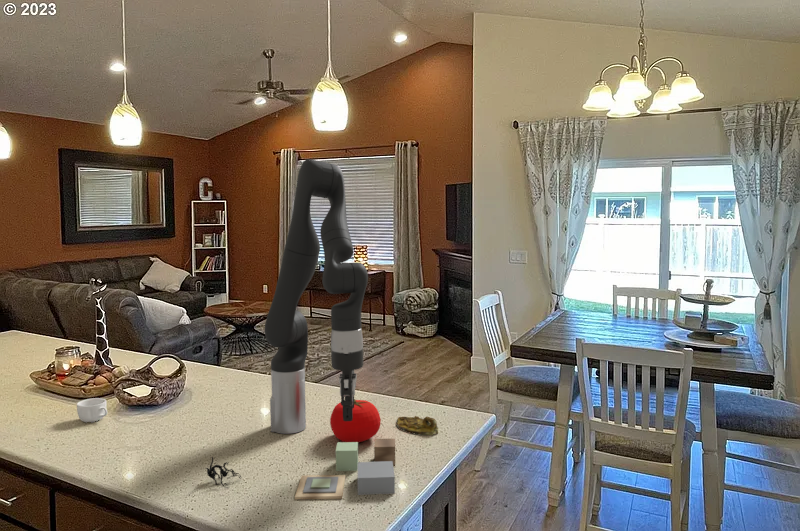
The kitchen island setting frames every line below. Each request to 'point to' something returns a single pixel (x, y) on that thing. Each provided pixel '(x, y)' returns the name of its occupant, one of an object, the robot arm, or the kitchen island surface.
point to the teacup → (92, 409)
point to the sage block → (347, 456)
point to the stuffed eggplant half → (418, 425)
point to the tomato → (356, 422)
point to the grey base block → (376, 478)
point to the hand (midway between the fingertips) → (348, 414)
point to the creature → (222, 472)
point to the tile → (321, 487)
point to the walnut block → (384, 450)
